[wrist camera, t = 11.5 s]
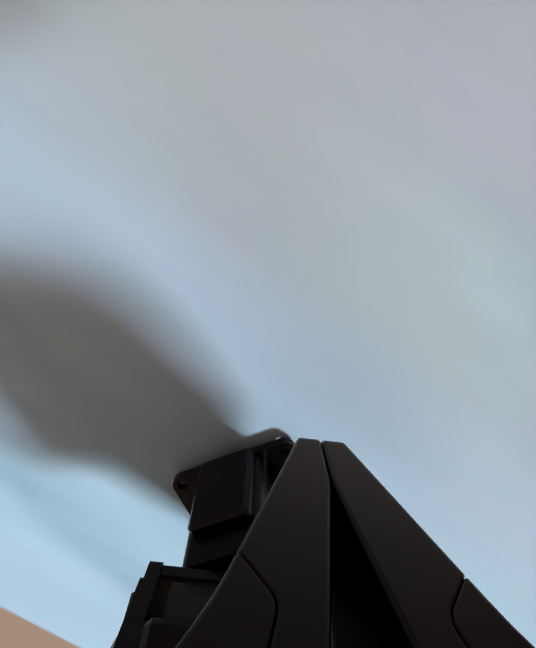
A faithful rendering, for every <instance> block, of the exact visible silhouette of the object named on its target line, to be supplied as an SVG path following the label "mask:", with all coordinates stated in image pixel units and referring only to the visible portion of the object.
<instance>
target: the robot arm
mask: <svg viewBox="0 0 536 648" xmlns="http://www.w3.org/2000/svg"><path fill="white" fill-rule="evenodd" d="M283 447H287V448H289V449H288V450H286V451H283V450H281V448H283ZM180 482H186V483H187V484H181V483H180ZM173 488H174V490H175V491H176V493H177V495H178V496H179V498H180V499H181V501H182V503H183V504H184V506H185V507H186V509H187V511H188V512H189V514H190V519H189V524H188V530H189V536H188V541H187V546H186V551H185V556H184V561H183V566H182V567H176V566H166V565H163V562H153V561H150V563H149V565H148V568H147V571H146V573H145V576H144V578H140V580H139V582H138V585H137V587H136V590H135V592H133V593H132V594H131V597H130V600H129V604H128V607H127V611H126V614H125V617H124V621H123V623H122V626H121V628H120V631H119V633H118V636H117V637H116V639H115V641H114V642H113V644H112V646H111V647H110V648H535V647H534V646H533V645H532V644H531V643H530V642H529V641H528V640H526V639H525V638H524V637H523V636H522V635H521V634H520V633H519V632H518V631H517V630H516V629H515V628H514V627H513V626H512V625H511V624H510V623H509V622H508V621H507V620H506V619H505V618H504V616H503V615H502V614H501V613H500V612H499V611H498V610H497V609H496V608H495V607H494V606H493V605H492V604H491V603H490V602H489V601H488V600H487V599H486V598H485V597H484V595H483V594H482V593H481V592H480V591H479V590H478V589H477V588H476V587H475V586H474V585H473V583H472V582H471V581H470V580H469V579H467V578H465V579H464V577H465V576H464V574H463V573H462V572H461V571H460V569H459V568H458V567H457V566H456V565H455V564H454V563H453V562H452V561H451V560H450V559H449V557H448V556H447V555H446V554H445V553H444V552H443V551H442V550H441V549H440V548H439V547H438V545H437V544H436V543H435V542H434V541H433V540H432V539H431V538H430V537H429V536H428V535H427V533H426V532H425V531H424V530H423V529H422V528H421V527H420V526H419V525H418V524H417V523H416V521H415V520H414V519H413V518H412V517H411V516H410V515H409V514H408V513H407V512H406V510H405V509H404V508H403V507H402V506H401V505H400V504H399V503H398V502H397V501H396V500H395V498H394V497H393V496H392V495H391V494H390V493H389V492H388V491H387V490H386V489H385V488H384V486H383V485H382V484H381V483H380V482H379V481H378V480H377V479H376V478H375V477H374V476H373V474H372V473H371V472H370V471H369V470H368V469H367V468H366V467H365V466H364V465H363V463H362V462H361V461H360V460H359V459H358V458H357V457H356V456H355V455H354V454H353V453H352V451H351V450H350V449H349V448H348V447H347V446H346V445H345V444H344V443H341V442H332V441H322V442H321V443H320V441H319V440H314V439H306V438H299V439H298V440H297V441H296V443H294V442H293V441H292V440H291V439H288V438H281V439H278V440H275V441H272V442H269V443H266V444H264V445H261V446H258V447H255V448H252V449H245V450H242V451H239V452H236V453H233V454H230V455H228V456H225V457H222V458H219V459H216V460H213V461H210V462H207V463H204V464H202V466H199V467H196V468H193V469H190V470H187V471H184V472H181V473H179V474H177V475H176V476H175V478H174V482H173Z"/></svg>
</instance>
